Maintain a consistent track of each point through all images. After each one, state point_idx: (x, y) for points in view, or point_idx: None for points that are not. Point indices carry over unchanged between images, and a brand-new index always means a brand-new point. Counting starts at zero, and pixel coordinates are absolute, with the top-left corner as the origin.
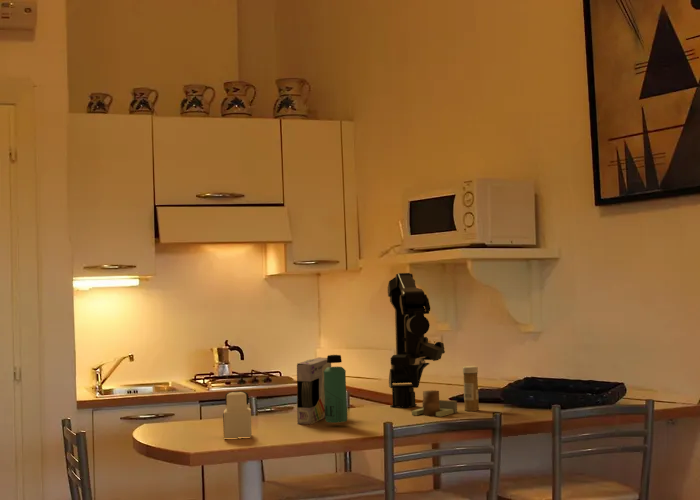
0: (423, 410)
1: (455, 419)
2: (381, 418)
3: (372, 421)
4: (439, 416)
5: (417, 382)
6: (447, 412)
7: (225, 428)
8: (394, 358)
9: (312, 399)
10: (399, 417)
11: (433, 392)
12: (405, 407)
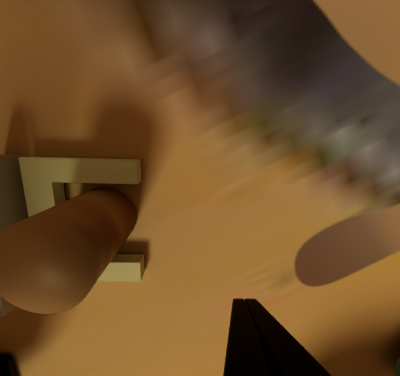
0: None
1: (174, 75)
2: None
3: (302, 312)
4: (140, 166)
5: (275, 330)
6: (80, 158)
7: None
8: None
9: None
10: (202, 283)
11: (73, 235)
12: (11, 360)
